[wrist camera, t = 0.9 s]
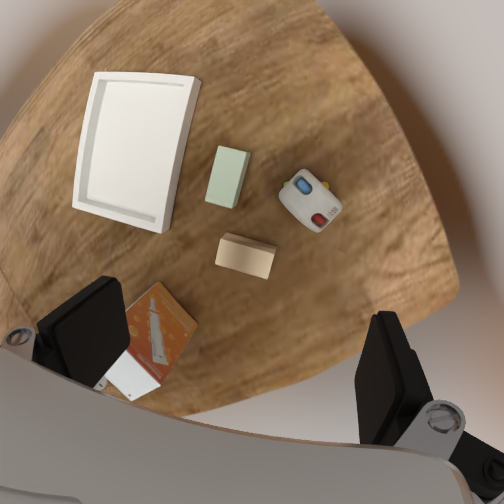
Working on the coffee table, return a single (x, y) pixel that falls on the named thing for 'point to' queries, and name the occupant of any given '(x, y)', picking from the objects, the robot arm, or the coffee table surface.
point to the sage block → (227, 176)
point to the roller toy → (310, 200)
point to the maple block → (245, 255)
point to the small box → (151, 342)
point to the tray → (134, 146)
